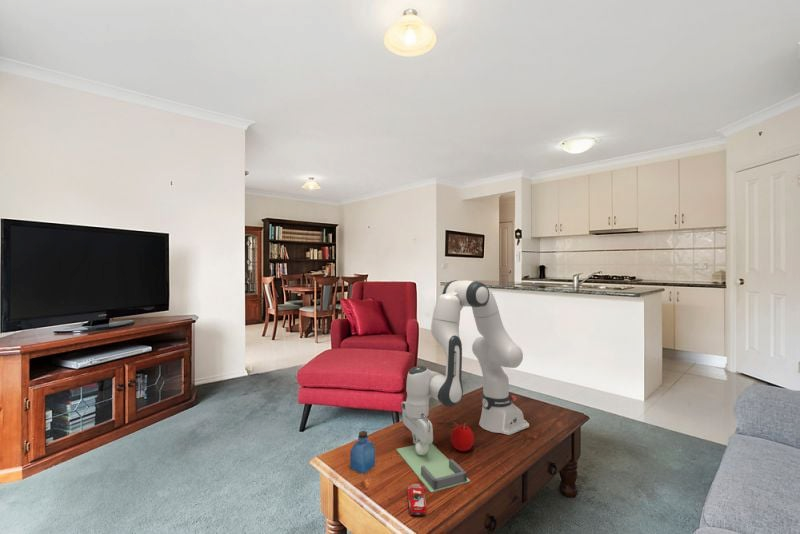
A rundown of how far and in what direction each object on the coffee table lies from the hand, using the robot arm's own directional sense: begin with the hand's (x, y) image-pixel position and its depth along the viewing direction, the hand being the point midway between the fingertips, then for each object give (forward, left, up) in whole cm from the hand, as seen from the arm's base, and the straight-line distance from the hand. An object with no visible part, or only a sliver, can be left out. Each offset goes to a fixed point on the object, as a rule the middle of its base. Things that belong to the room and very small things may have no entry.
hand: (416, 444), depth 136 cm
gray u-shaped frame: (0, +20, -2) cm, 20 cm away
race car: (+13, +27, -2) cm, 30 cm away
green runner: (0, +11, -2) cm, 11 cm away
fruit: (-17, +6, -2) cm, 18 cm away
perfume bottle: (+23, +3, -2) cm, 23 cm away
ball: (0, +4, +1) cm, 4 cm away
